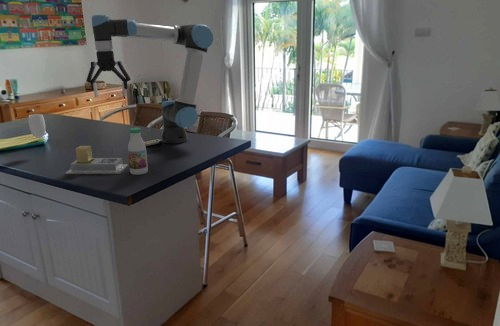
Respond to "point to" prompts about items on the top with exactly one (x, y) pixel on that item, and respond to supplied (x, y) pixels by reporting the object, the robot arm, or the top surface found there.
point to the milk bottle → (137, 153)
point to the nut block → (84, 154)
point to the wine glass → (37, 125)
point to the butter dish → (98, 166)
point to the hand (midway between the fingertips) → (110, 96)
